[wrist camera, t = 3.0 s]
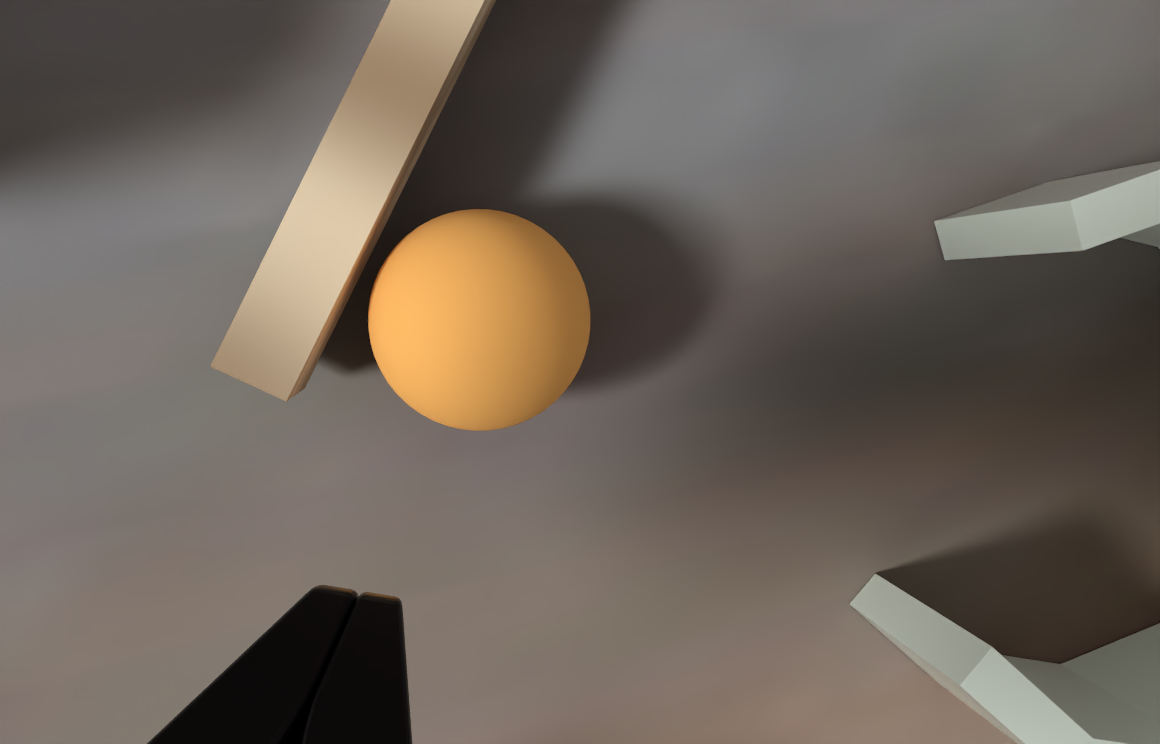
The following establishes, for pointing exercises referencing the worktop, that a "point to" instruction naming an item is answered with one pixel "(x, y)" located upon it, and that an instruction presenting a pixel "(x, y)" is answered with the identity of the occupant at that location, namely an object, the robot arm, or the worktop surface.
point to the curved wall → (950, 653)
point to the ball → (479, 319)
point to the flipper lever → (349, 192)
